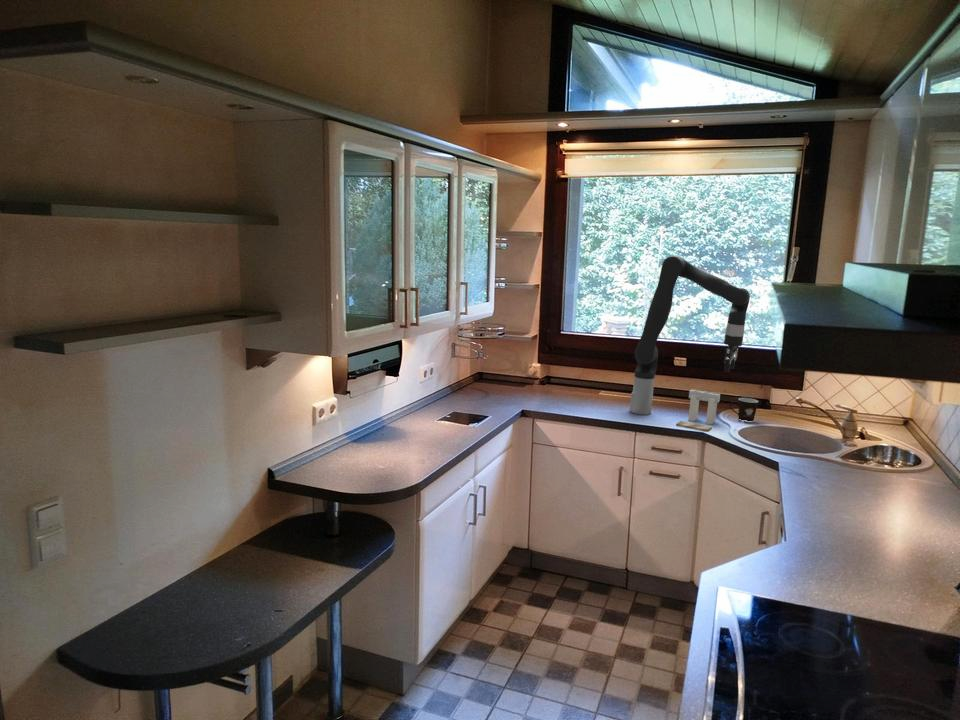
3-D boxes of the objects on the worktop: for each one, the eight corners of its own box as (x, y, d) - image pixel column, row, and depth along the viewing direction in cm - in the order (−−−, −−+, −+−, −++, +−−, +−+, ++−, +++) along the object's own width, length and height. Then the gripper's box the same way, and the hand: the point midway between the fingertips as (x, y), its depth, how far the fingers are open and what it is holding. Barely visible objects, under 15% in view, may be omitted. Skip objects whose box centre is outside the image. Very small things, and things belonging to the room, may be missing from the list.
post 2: (705, 423, 301) (708, 398, 299) (709, 420, 306) (712, 396, 304) (711, 424, 300) (714, 399, 297) (714, 421, 305) (717, 397, 302)
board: (676, 425, 295) (676, 423, 295) (680, 422, 300) (680, 420, 300) (708, 431, 288) (708, 430, 288) (711, 428, 293) (711, 426, 293)
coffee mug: (757, 420, 310) (759, 400, 308) (753, 424, 302) (756, 403, 300) (731, 416, 315) (733, 395, 314) (727, 420, 308) (730, 399, 306)
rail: (688, 398, 305) (689, 390, 304) (690, 396, 308) (691, 389, 307) (717, 403, 298) (718, 395, 297) (719, 401, 301) (720, 394, 300)
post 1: (688, 420, 305) (690, 395, 303) (691, 417, 310) (694, 393, 308) (693, 421, 304) (696, 396, 302) (697, 418, 309) (700, 394, 307)
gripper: (729, 331, 296) (724, 366, 300) (721, 334, 285) (715, 371, 288) (746, 333, 292) (741, 369, 296) (739, 337, 281) (733, 374, 284)
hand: (728, 370), depth 292 cm, fingers open, 8 cm apart
